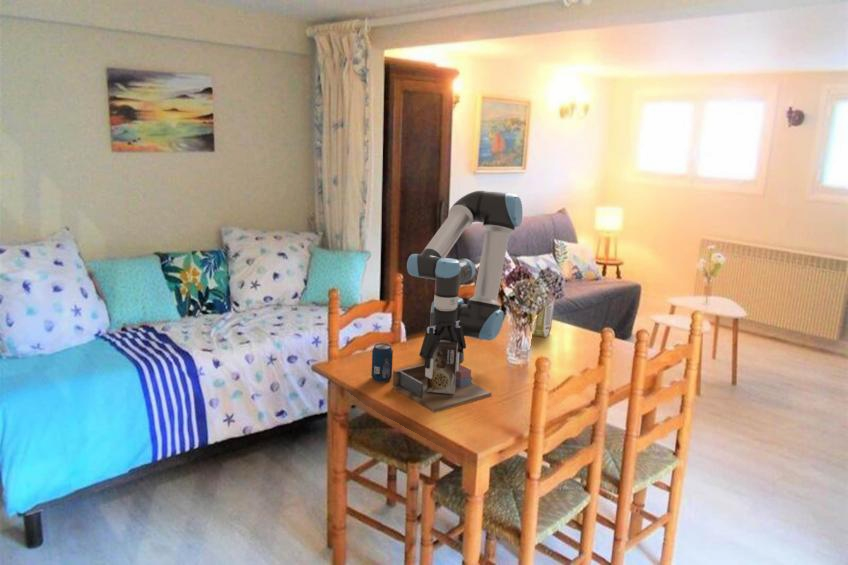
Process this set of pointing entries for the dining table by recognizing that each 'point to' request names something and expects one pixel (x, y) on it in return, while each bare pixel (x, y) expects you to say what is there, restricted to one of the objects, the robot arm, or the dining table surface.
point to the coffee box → (444, 368)
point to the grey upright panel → (410, 384)
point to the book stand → (438, 399)
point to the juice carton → (544, 321)
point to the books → (463, 376)
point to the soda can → (382, 362)
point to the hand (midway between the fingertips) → (441, 373)
